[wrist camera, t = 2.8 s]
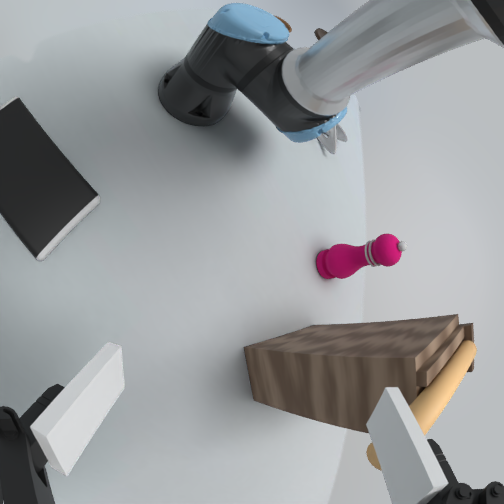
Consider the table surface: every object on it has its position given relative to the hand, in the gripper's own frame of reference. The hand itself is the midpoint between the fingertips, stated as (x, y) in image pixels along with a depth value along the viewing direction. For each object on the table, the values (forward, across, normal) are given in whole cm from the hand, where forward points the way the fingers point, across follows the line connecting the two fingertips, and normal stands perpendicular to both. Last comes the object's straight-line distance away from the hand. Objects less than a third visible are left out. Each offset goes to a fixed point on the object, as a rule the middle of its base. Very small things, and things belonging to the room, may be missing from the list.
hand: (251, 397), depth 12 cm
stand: (+35, +8, -20) cm, 41 cm away
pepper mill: (+50, +14, -5) cm, 52 cm away
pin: (+10, +19, -7) cm, 23 cm away
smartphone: (+21, -38, +8) cm, 44 cm away
